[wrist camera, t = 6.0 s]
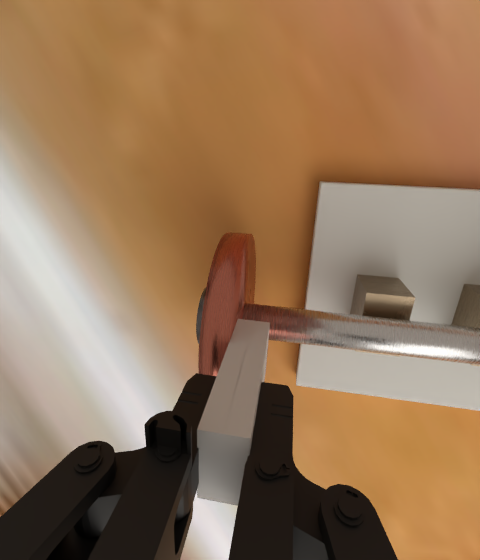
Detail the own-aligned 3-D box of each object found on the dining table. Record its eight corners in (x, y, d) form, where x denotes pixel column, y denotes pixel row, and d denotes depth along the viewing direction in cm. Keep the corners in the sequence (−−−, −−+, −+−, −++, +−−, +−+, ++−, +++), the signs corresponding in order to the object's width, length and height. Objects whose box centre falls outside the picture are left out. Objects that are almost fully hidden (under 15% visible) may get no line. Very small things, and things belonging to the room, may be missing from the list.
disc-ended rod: (221, 342, 23) (178, 447, 15) (224, 217, 20) (170, 260, 12) (527, 380, 21) (687, 535, 12) (588, 241, 17) (870, 322, 9)
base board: (296, 374, 24) (296, 385, 23) (319, 181, 19) (321, 182, 18) (599, 415, 21) (615, 429, 20) (721, 201, 16) (753, 204, 15)
